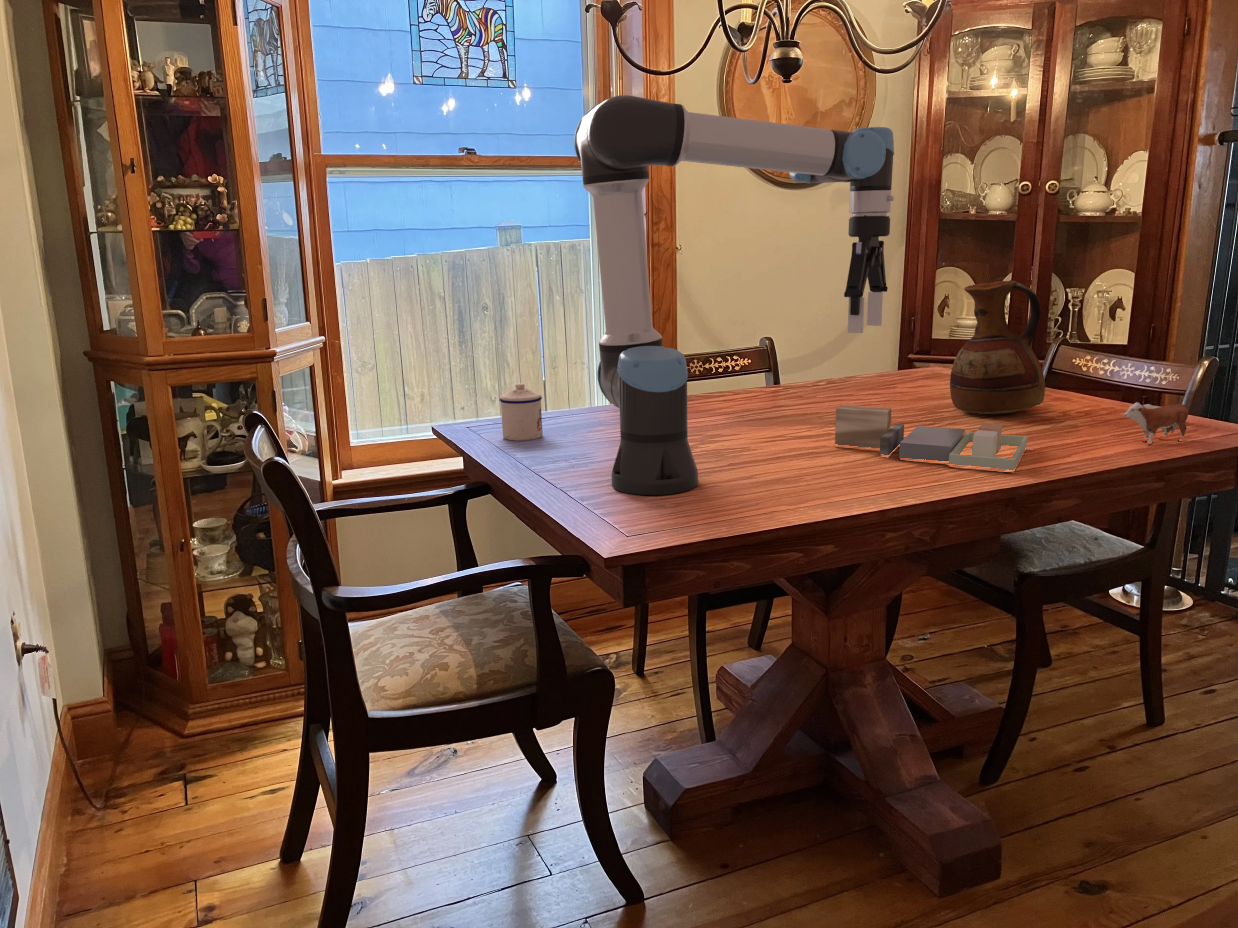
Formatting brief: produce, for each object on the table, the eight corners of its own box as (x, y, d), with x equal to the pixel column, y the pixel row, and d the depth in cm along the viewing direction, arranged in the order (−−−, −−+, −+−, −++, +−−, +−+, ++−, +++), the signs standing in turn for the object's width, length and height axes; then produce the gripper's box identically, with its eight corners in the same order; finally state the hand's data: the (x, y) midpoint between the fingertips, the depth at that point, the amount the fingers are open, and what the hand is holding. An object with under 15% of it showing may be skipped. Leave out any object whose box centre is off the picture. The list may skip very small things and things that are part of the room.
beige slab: (888, 458, 180) (889, 416, 178) (828, 453, 185) (829, 412, 183) (903, 443, 191) (905, 404, 189) (846, 439, 196) (847, 401, 194)
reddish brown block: (977, 453, 179) (996, 455, 177) (978, 427, 178) (998, 429, 176) (981, 448, 183) (1000, 449, 182) (982, 422, 182) (1002, 424, 180)
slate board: (949, 465, 173) (950, 446, 172) (898, 460, 177) (899, 442, 176) (963, 446, 187) (964, 429, 186) (916, 442, 191) (917, 425, 190)
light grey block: (971, 462, 173) (991, 464, 171) (973, 435, 172) (993, 437, 170) (975, 456, 177) (995, 458, 176) (977, 430, 176) (997, 431, 174)
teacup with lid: (548, 438, 204) (545, 385, 201) (506, 443, 202) (503, 388, 199) (535, 428, 215) (532, 377, 213) (495, 432, 213) (492, 380, 210)
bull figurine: (1117, 442, 186) (1121, 401, 184) (1176, 437, 189) (1180, 397, 187) (1133, 447, 182) (1137, 405, 180) (1193, 442, 185) (1198, 400, 183)
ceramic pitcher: (938, 405, 228) (945, 278, 220) (1024, 404, 226) (1034, 276, 219) (962, 422, 209) (971, 283, 201) (1056, 420, 207) (1068, 281, 200)
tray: (1013, 473, 166) (1014, 459, 165) (948, 467, 171) (949, 454, 171) (1026, 449, 183) (1027, 436, 182) (966, 444, 188) (967, 432, 188)
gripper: (872, 214, 165) (867, 336, 171) (905, 214, 186) (899, 323, 192) (830, 215, 169) (826, 335, 174) (867, 215, 190) (862, 322, 195)
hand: (865, 329), depth 183 cm, fingers open, 13 cm apart
